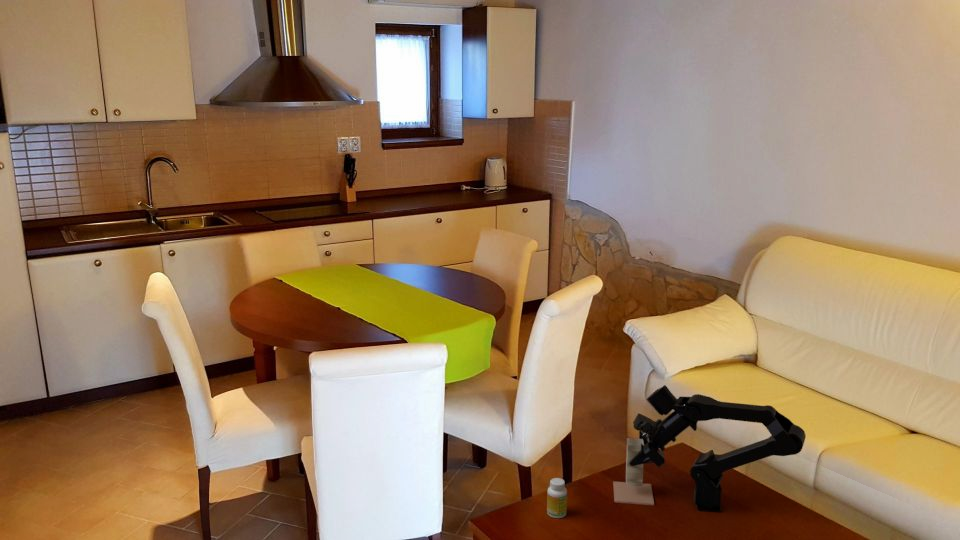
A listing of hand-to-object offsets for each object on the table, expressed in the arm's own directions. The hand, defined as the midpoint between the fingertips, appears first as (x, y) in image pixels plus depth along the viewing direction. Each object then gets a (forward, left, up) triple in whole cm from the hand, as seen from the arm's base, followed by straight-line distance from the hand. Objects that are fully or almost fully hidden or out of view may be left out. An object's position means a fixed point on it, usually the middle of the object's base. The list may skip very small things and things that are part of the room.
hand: (629, 460), depth 208 cm
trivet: (-1, 0, -10) cm, 10 cm away
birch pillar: (-1, 0, -7) cm, 7 cm away
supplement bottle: (+20, +13, -11) cm, 26 cm away
